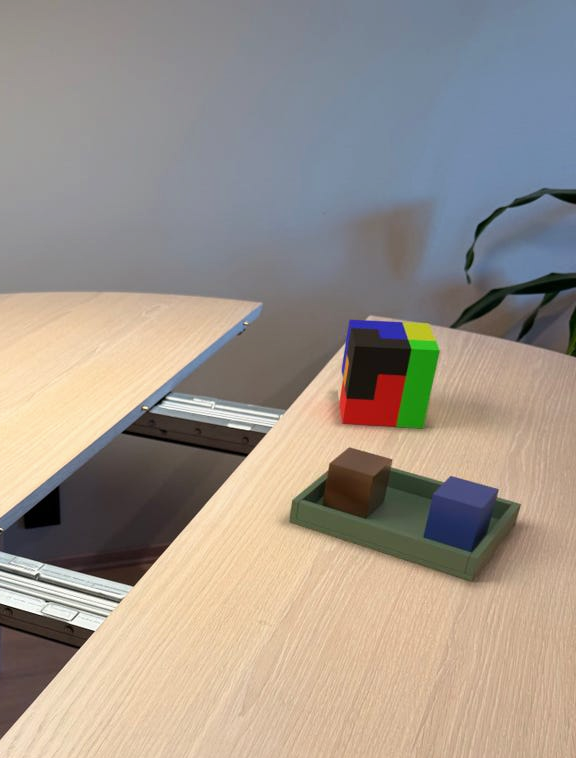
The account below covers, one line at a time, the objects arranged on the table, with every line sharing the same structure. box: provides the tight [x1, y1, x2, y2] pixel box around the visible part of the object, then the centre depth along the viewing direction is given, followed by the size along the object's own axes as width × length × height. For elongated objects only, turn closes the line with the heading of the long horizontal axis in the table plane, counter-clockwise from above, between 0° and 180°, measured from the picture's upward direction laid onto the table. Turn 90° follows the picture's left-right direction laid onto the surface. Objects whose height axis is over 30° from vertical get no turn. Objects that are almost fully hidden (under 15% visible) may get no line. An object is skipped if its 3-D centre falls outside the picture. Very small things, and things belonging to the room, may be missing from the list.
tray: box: [288, 466, 522, 582], centre depth 103 cm, size 20×14×3 cm
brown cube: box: [323, 446, 393, 519], centre depth 105 cm, size 5×5×5 cm
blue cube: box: [423, 475, 500, 552], centre depth 99 cm, size 5×5×5 cm
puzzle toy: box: [337, 319, 441, 429], centre depth 125 cm, size 10×10×10 cm
